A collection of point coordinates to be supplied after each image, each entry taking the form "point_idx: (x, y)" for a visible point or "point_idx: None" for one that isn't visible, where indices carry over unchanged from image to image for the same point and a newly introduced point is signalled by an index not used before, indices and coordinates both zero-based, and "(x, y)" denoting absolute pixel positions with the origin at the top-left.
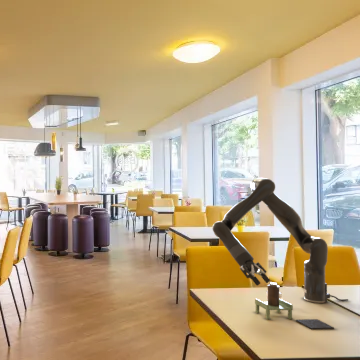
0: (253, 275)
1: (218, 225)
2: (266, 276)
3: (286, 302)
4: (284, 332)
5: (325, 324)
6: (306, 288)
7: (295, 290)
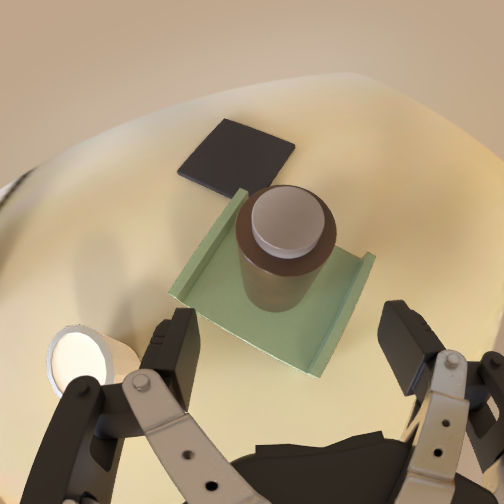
0: (458, 357)
1: None
2: (177, 342)
3: (225, 223)
4: (402, 182)
5: (214, 137)
6: None
7: None
